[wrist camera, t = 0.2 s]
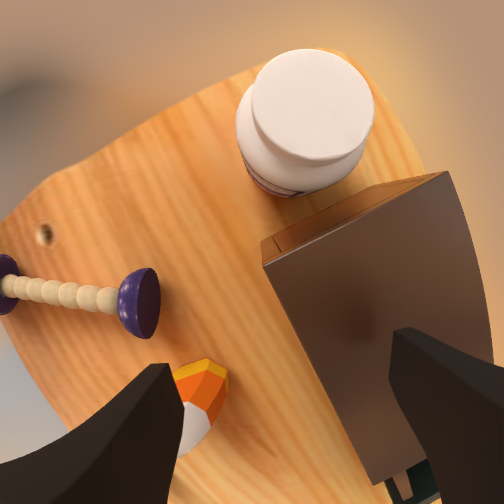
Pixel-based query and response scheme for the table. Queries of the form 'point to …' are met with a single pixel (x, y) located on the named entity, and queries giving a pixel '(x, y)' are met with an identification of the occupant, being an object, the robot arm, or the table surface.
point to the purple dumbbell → (88, 296)
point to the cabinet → (379, 301)
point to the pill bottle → (304, 122)
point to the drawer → (413, 485)
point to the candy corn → (200, 399)
